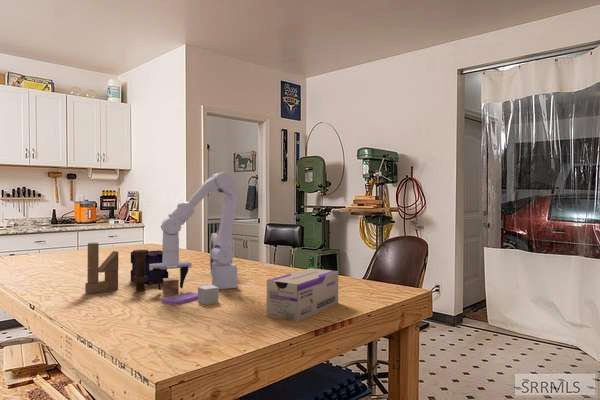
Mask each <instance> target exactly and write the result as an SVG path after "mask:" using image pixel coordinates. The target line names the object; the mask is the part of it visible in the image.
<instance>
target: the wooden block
mask: <svg viewBox="0 0 600 400" xmlns="http://www.w3.org/2000/svg"><path fill="white" fill-rule="evenodd" d="M99 245H100V244H99V242H88V243H87V279H86V281H87V282H86V283H85V284H84V285H85V286H84V287H85V289H84V291H85V293H86V294H89V295H93V294H98V293H103V292H108V291H110V290H111V291H116V290H118V289H119V251H117V250H113V251H112V252H111V253H110V254H109V255H108V256H107V258H106V259H104V261H103V262H102V263H101V264H100V263H99V260H100V259H99V258H100V257H99V256H100V255H99V252H100V250H99V249H100V247H99ZM100 273H101V274H102V273H104V280H99V274H100Z"/></svg>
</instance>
